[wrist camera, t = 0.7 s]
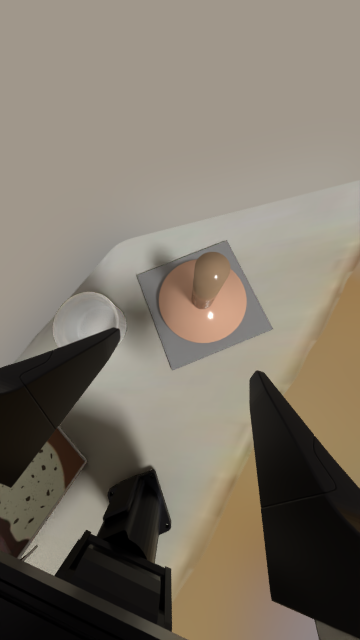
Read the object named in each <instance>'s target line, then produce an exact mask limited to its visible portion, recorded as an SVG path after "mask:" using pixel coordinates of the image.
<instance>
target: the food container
mask: <svg viewBox="0 0 360 640" xmlns="http://www.w3.org/2000/svg"><path fill="white" fill-rule="evenodd" d="M86 463H87V459H86V458H85V457H84V456H83V455H82V453H81V452H80V451H79V450H78V449H77V447H76V446H75V445H74V444H73V443H72V441H71V440H70V439H69V438H68V436H67V435H66V434H65V433H64V432H63V430H62V429H61V428H60V427H59V426H58V427H57V429H55V431H54V433H53V434H52V435H51V437H50V438H49V439H48V441H47V442H46V443H45V445H44V446H43V447H42V449H41V450H40V451H39V453H38V454H37V455H36V457H35V458H34V459H33V460H32V462H31V463H30V464H29V466H28V467H27V468H26V470H25V471H24V472H23V474H22V475H21V476H20V478H19V479H18V480H17V482H16V483H15V484H14V485H13V486H12V488H10V487H7V486H5V485H2V484H0V550H1V551H3V552H5V553H7V554H9V555H11V556H13V557H15V558H18V559H20V558H21V556H22V555H23V554H24V552H25V551H26V549H27V548H28V546H29V545H30V543H31V542H32V541H33V539H34V538H35V536H36V535H37V533H38V532H39V530H40V529H41V528H42V526H43V525H44V523H45V522H46V520H47V519H48V517H49V516H50V515H51V513H52V512H53V510H54V509H55V507H56V506H57V505H58V503H59V502H60V500H61V499H62V497H63V496H64V494H65V493H66V492H67V490H68V489H69V487H70V486H71V484H72V483H73V481H74V480H75V479H76V477H77V476H78V474H79V473H80V471H81V470H82V468H83V467H84V466H85V464H86ZM37 547H38V546H37V545H36V546H35V547H34V548H33V549H32V550H31V551H30V552H29V553H28V554H27V555H25V556H24V557H23V558H21V559H20V560H22V561H25V559H26V558H27V557H28V556H29V555H30V554H31V553H32V552H33V551H34V550H35V549H36V548H37Z"/></svg>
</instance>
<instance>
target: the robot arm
mask: <svg viewBox="0 0 360 640" xmlns="http://www.w3.org/2000/svg"><path fill="white" fill-rule="evenodd" d="M120 338H121V337H120V329H119V328H115V327H113V328H110V329H107V330H105V331H102V332H99V333H97V334H94V335H91V336H89V337H86V338H83V339H81V340H78V341H75V342H73V343H70V344H68V345H65V346H62V347H60V348H57V349H54V350H52V351H49V352H46V353H44V354H41V355H38V356H35V357H32V358H29V359H26V360H23V361H20V362H17V363H14V364H11V365H8V366H4V367H2V368H0V484H2V485H5V486H7V487H10V488H12V486H13V485H14V484H15V483H16V482H17V480H18V479H19V478H20V476H21V475H22V474H23V472H24V471H25V470H26V468H27V467H28V466H29V464H30V463H31V462H32V460H33V459H34V458H35V457H36V455H37V454H38V453H39V451H40V450H41V449H42V447H43V446H44V445H45V443H46V442H47V441H48V439H49V438H50V437H51V435H52V434H53V433H54V431H55V429H57V427H58V426H59V425H60V423H61V422H62V421H63V419H64V418H65V417H66V415H67V414H68V413H69V411H70V410H71V409H72V408H73V406H74V405H75V404H76V402H77V401H78V400H79V398H80V397H81V396H82V394H83V393H84V392H85V390H86V389H87V388H88V386H89V385H90V384H91V382H92V381H93V380H94V378H95V377H96V376H97V375H98V373H99V372H100V371H101V369H102V368H103V367H104V365H105V364H106V363H107V361H108V360H109V358H110V357H111V355H112V353H113V352H114V350H115V348H116V347H117V345H118V343H119V342H120ZM250 415H251V424H252V433H253V441H254V450H255V459H256V468H257V477H258V486H259V495H260V504H261V513H262V522H263V532H264V541H265V550H266V559H267V567H268V575H269V585H270V593H271V599H272V601H274V602H276V603H279V604H281V605H283V606H285V607H287V608H290V609H292V610H294V611H296V612H299V613H301V614H303V615H306V616H308V617H310V618H312V619H314V620H315V624H316V628H317V632H318V636H319V640H360V488H359V487H358V486H357V485H356V484H355V483H354V482H353V480H352V479H351V478H350V477H349V476H348V475H347V474H346V472H345V471H344V470H343V469H342V468H341V467H340V466H339V464H338V463H337V462H336V461H335V460H334V459H333V457H332V456H331V455H330V454H329V453H328V451H327V450H326V449H325V448H324V447H323V445H322V444H321V443H320V442H319V440H318V439H317V438H316V437H315V436H314V434H313V433H312V432H311V430H310V429H309V428H308V427H307V425H306V424H305V423H304V422H303V420H302V419H301V418H300V417H299V416H298V414H297V413H296V412H295V410H294V409H293V408H292V407H291V405H290V404H289V403H288V402H287V401H286V399H285V398H284V397H283V395H282V394H281V393H280V392H279V390H278V389H277V388H276V387H275V386H274V384H273V383H272V382H271V381H270V379H269V378H268V377H267V376H266V374H265V373H264V372H261V371H255V373H254V374H253V375H252V377H251V378H250ZM151 475H153V477H152V476H151ZM111 492H113V494H112V493H111ZM108 498H109V502H110V504H109V506H108V508H107V510H106V512H105V514H104V516H103V524H102V526H101V528H100V530H99V532H98V534H97V536H94V535H92V534H91V532H90V531H88V530H86V531H85V532H84V534H83V535H82V537H81V539H80V540H78V541H77V543H76V544H75V546H74V547H73V549H72V550H71V552H70V553H69V555H68V556H67V558H66V559H65V561H64V562H63V564H62V565H61V567H60V568H59V570H58V571H57V573H56V574H55V576H53V575H51V574H49V573H47V572H45V571H43V570H41V569H38V568H36V567H34V566H32V565H30V564H28V563H26V562H24V561H22V560H20V559H18V558H15V557H13V556H11V555H9V554H7V553H5V552H3V551H1V550H0V640H187V639H185V638H183V637H181V636H179V635H177V634H175V633H173V632H172V601H171V569H170V568H168V567H166V566H165V568H164V567H161V566H159V565H157V564H155V557H156V550H157V544H158V537H159V535H160V534H162V533H165V532H167V531H169V530H170V528H171V519H170V516H169V513H168V510H167V506H166V503H165V500H164V497H163V494H162V491H161V487H160V484H159V481H158V478H157V475H156V472H155V471H154V470H150V471H148V472H146V473H143V474H141V475H136V476H134V477H131V478H129V479H127V480H124V481H122V482H120V483H119V484H118V485H115V486H113V487H111V488H110V490H109V492H108ZM166 524H168V525H166Z"/></svg>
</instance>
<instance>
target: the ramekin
mask: <svg viewBox="0 0 360 640" xmlns="http://www.w3.org/2000/svg"><path fill="white" fill-rule="evenodd" d="M113 327H115V328H119V329H120V337H121V338H120V342H119V343H118V345H119V344H120V343H121V341H122V340H123V338H124V336H125V333H126V328H127V323H126V319H125V316H124V314H123V313H122V311H121V310H120V309H119V308H118V307H117V306H115V305H114V304H113V303H112V301H111V300H110V299H108V298H107V297H106V296H104V295H102V294H100V293H96V292H82V293H79V294H76V295H74V296H72V297H70V298H69V299H68V300H67V301H65V302H64V303H63V304H62V305H61V307H60V308H59V310H58V311H57V313H56V315H55V318H54V322H53V336H54V339H55V342H56V344H57V346H58V347H59V348H60V347H62V346H65V345H68V344H70V343H73V342H75V341H78V340H81V339H83V338H86V337H89V336H91V335H94V334H97V333H99V332H102V331H105V330H107V329H110V328H113ZM118 345H117V346H118Z"/></svg>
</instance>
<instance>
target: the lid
mask: <svg viewBox="0 0 360 640" xmlns="http://www.w3.org/2000/svg"><path fill="white" fill-rule="evenodd" d="M246 305H247V298H246V292H245V288H244V286H243V284H242V282H241V280H240V278H239V277H238V276H237V275H236V273H235V272H234V271H233V270H231V269H230V263H229V261H228V259H227V258H226V257H225V256H224V255H222V254H220V253H218V252H207V253H204V254H202V255H201V256H200V257H199V258H198V259H196V260H191V261H188V262H185V263H183V264H181V265H179V266H177V267H176V268H175V269H173V270H172V271H171V272H170V273H169V274H168V276H167V277H166V278H165V280H164V282H163V284H162V286H161V289H160V293H159V307H160V312H161V315H162V317H163V319H164V321H165V323H166V324H167V326H168V327H169V328H170V329H171V330H172V331H173V332H174V333H175V334H177V335H178V336H179V337H181V338H183V339H185V340H188V341H191V342H195V343H210V342H215V341H218V340H221V339H223V338H225V337H227V336H228V335H230V334H231V333H232V332H233V331H234V330H235V329H236V328H237V327H238V326H239V324H240V323H241V321H242V319H243V317H244V314H245V311H246Z"/></svg>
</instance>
